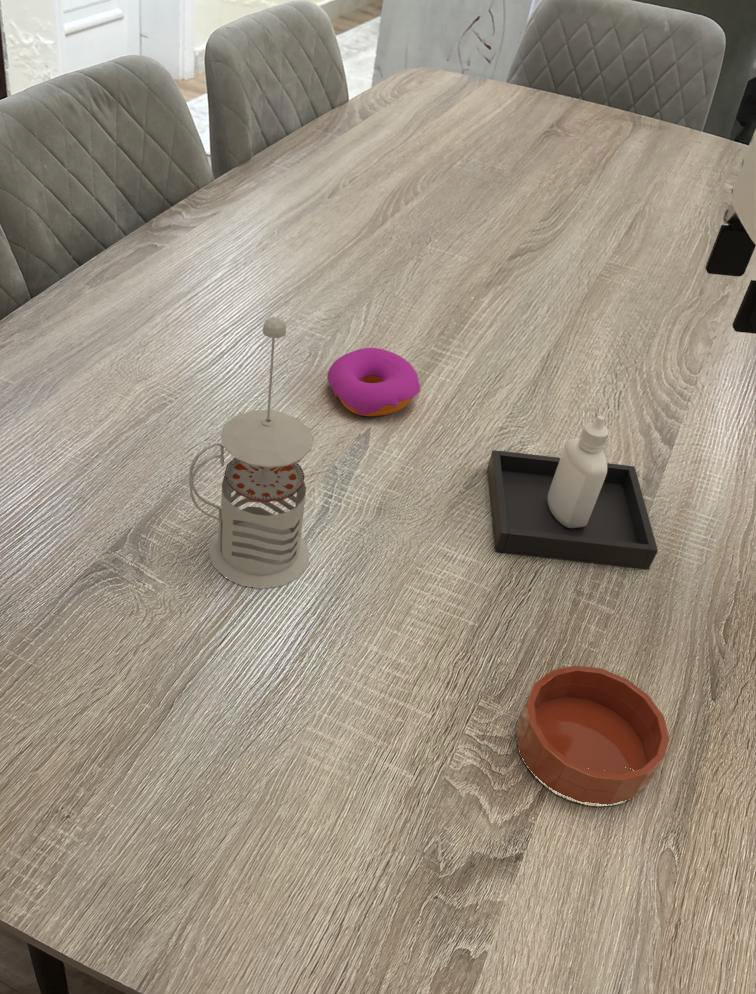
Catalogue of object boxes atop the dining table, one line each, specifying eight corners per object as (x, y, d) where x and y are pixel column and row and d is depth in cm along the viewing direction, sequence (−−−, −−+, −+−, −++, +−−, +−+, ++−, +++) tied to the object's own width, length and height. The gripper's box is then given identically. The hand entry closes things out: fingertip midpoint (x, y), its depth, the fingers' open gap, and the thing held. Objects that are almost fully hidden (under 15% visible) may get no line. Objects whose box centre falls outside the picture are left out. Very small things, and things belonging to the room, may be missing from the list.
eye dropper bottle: (542, 524, 97) (576, 428, 88) (547, 491, 101) (580, 396, 92) (585, 534, 96) (623, 438, 88) (587, 501, 100) (624, 406, 92)
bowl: (637, 703, 82) (654, 673, 79) (662, 815, 74) (681, 787, 71) (510, 688, 82) (522, 658, 79) (521, 799, 74) (534, 770, 71)
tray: (626, 484, 104) (634, 466, 102) (649, 569, 94) (658, 550, 92) (486, 468, 104) (492, 449, 102) (495, 552, 94) (501, 532, 92)
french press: (313, 589, 88) (344, 354, 70) (189, 588, 87) (187, 349, 69) (305, 519, 95) (331, 290, 77) (190, 518, 94) (188, 284, 76)
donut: (316, 378, 113) (320, 344, 110) (394, 370, 116) (400, 337, 113) (345, 428, 107) (350, 394, 103) (427, 418, 109) (434, 384, 106)
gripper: (936, 119, 58) (814, 361, 71) (847, 40, 71) (756, 258, 83) (815, 108, 59) (714, 352, 71) (747, 30, 71) (671, 250, 83)
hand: (737, 301), depth 77 cm, fingers open, 9 cm apart
